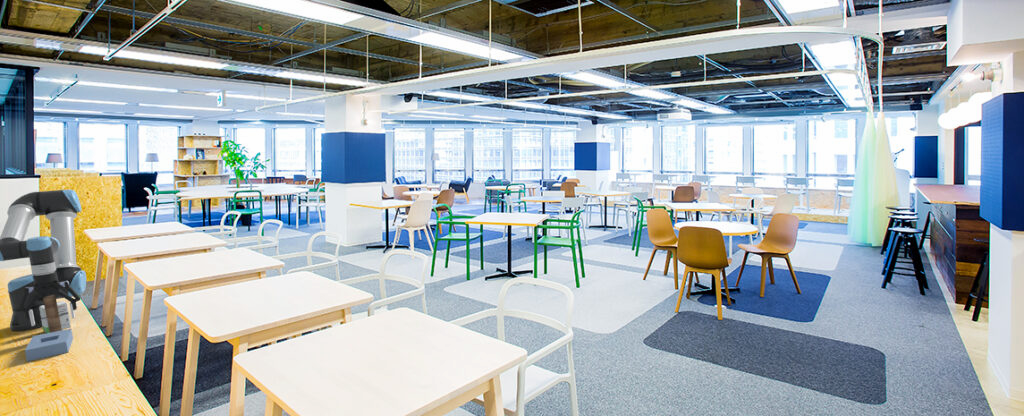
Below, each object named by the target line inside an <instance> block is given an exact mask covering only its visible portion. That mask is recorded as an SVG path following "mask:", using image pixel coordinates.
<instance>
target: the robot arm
mask: <svg viewBox="0 0 1024 416" xmlns="http://www.w3.org/2000/svg"><path fill="white" fill-rule="evenodd" d="M7 209H8V210H7V212H6V213H7V216H8V217H7V219H6V222H5V225H4V226H3V227H4V228H3V229H2V231H1V233H0V234H1V235H0V262H6V261H12V260H18V259H27V258H29V264H30V269H31V274H30V273H29V274H26V275H22V276H20V277H19V276H18V277H17V278H14V279H11V280H10V281H9V282H8V283H7V293H8V296H9V300H10V305H11V310H12V314H11V319H10V322H9V328H10V331H12V332H22V331H23V332H24V331H28V330H34V329H38V328H41V327H42V328H43V326H42V321H41V315H40V309H39V307H40V306H43V305H44V301H43V298H44V297H47V296H52V295H55V296H56V300H60V299H65V300H66V301H68V302H69V308H70V314H71V318H72V319H75V318H76V314H75V311H76V310H77V309H78V306H77V302H79V301H81V299H82V298H81V295H82V294H84V292H85V290H86V287H87V273H86V271H85V270H82V268H81V267H80V266H79V265H78V264H77V254H76V253H77V251H76V238H75V237H76V236H75V235H76V234H75V224H74V223H75V221H74V219H76V218H77V217H78V213H81V212H82V204H81V201H80V199H79V196H78V194H77V192H76V191H75V190H74V189H58V190H57V189H55V190H46V191H45V190H44V191H31V192H28V193H25V194H23V195H22V196H20V197H18V198H17V199H15V200H14V201H13V202H12V203H11V204H10V205H9V207H8V208H7ZM37 216H38V217H39V216H44V217H45V218H46V219H47V220H49V223H50V224H49V226H50V227H49V228H50V236H47V235H45V236H44V235H43V236H36V237H34V236H33V237H30V238H27V240H25V236H26V234H27V231H28V228H29V226H30V223H31V221H32V220H34V219H35V217H37Z"/></svg>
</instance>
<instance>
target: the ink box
mask: <svg viewBox="0 0 1024 416" xmlns="http://www.w3.org/2000/svg"><path fill="white" fill-rule="evenodd" d="M57 306H58V312H59V317H60V322H61V327H62V330H66V329H70V328H71V327H72V324H71V319H70V314H69V308H68V303H67V302H66V301H63V300H62V301H58V302H57ZM39 309H40V315H41V321H42V331H43V332H44V334H47V333H50V332H49V327H48V322H47V317H46V312H45V307H44V305H43V306H40V307H39Z"/></svg>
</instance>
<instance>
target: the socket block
mask: <svg viewBox="0 0 1024 416" xmlns="http://www.w3.org/2000/svg"><path fill="white" fill-rule="evenodd" d="M73 336H74V335H73V332H72V328H66V329H62V331H57V332H52V333H42V334H38V335H33V336H31V339H30V340H29V342H28V344H27V346H26V347H25V350H24V353H25V358H26V362H31V361H35V360H41V359H44V358H49V357H53V356H59V355H62V354H67V353H69V351H70V348H71V346H72V343H73V341H74V337H73ZM40 358H41V359H40Z"/></svg>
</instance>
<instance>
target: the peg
mask: <svg viewBox="0 0 1024 416" xmlns="http://www.w3.org/2000/svg"><path fill="white" fill-rule="evenodd" d="M43 301H44V307H45V312H46V317H47V322H48V327H49V332H50V333H52V332H57V331H62V330H63V329H62V327H61V322H60V317H59V312H58V306H57V299H56V296H55V295H52V296H47V297H44V298H43Z"/></svg>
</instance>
